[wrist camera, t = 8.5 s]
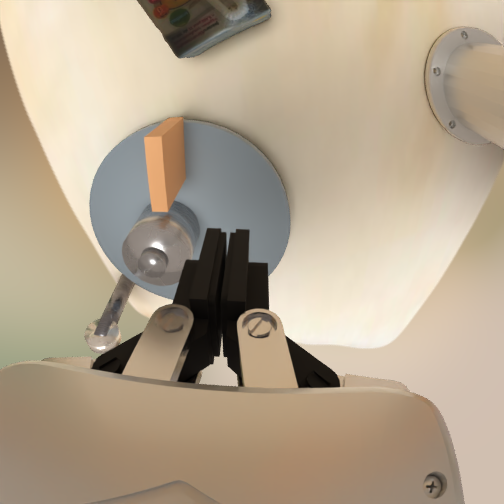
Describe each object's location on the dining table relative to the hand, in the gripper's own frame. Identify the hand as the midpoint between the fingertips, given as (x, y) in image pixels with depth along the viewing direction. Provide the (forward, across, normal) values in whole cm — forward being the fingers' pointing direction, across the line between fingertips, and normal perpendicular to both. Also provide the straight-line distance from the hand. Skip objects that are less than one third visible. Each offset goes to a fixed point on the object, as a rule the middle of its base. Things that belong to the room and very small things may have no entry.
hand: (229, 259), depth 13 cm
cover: (+15, +7, +8) cm, 18 cm away
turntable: (+16, +6, +8) cm, 19 cm away
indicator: (+18, +15, +18) cm, 29 cm away
